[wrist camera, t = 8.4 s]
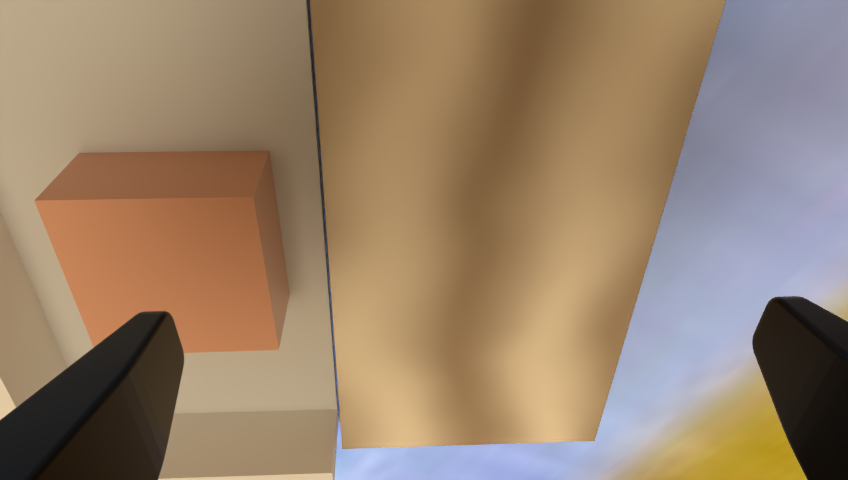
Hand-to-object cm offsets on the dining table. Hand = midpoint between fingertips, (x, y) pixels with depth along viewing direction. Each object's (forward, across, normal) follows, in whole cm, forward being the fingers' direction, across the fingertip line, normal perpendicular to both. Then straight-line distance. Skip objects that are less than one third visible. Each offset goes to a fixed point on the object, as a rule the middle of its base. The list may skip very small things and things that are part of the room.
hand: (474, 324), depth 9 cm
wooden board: (+12, -2, +6) cm, 13 cm away
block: (+11, +8, +6) cm, 15 cm away
